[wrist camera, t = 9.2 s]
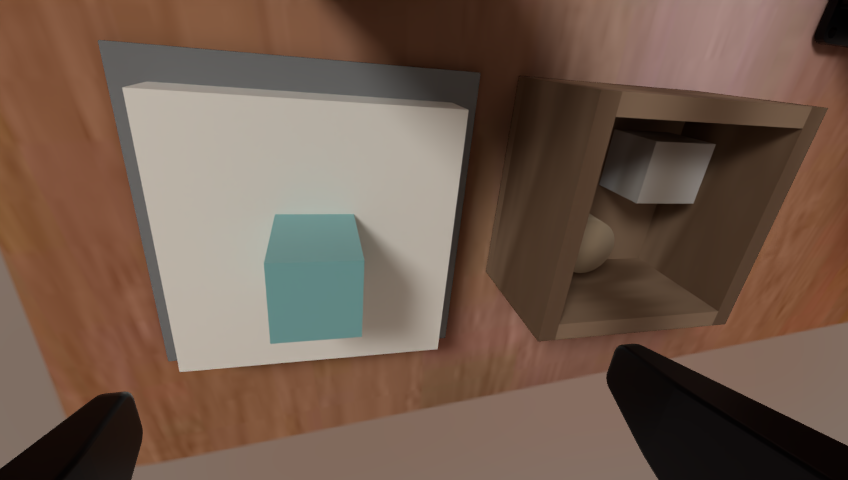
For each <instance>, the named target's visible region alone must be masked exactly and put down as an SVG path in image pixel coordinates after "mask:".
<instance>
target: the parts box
mask: <svg viewBox="0 0 848 480" xmlns="http://www.w3.org/2000/svg"><path fill="white" fill-rule="evenodd" d="M827 109H828V108H824V107H816V106H808V105H800V104H793V103H785V102H777V101H770V100H762V99H754V98H746V97H739V96H731V95H723V94H716V93H708V92H700V91H689V90H678V89H666V88H654V87H643V86H631V85H619V84H607V83H596V82H584V81H572V80H561V79H549V78H537V77H526V76H519V80H518V86H517V92H516V97H515V103H514V109H513V115H512V121H511V127H510V133H509V138H508V144H507V150H506V156H505V162H504V168H503V174H502V180H501V185H500V191H499V197H498V203H497V209H496V215H495V221H494V226H493V232H492V238H491V244H490V250H489V256H488V262H487V267H486V272H487V274H488V275H489V276H490V278H491V279H492V280H493V282H494V283H495V284H496V286H497V287H498V288H499V290H500V291H501V292H502V294H503V295H504V296H505V298H506V299H507V300H508V302H509V303H510V304H511V306H512V307H513V308H514V310H515V311H516V312H517V314H518V315H519V317H520V318H521V319H522V321H523V322H524V323H525V325H526V326H527V327H528V329H529V330H530V331H531V333H532V334H533V335H534V337H535V338H536V339H537V341H548V340H559V339H570V338H580V337H591V336H602V335H613V334H624V333H635V332H645V331H656V330H667V329H678V328H689V327H700V326H710V325H721V324H725V323H726V321H727V319H728V317H729V315H730V313H731V311H732V309H733V306H734V304H735V302H736V300H737V298H738V296H739V294H740V292H741V290H742V288H743V285H744V283H745V281H746V279H747V277H748V275H749V273H750V271H751V269H752V267H753V264H754V262H755V260H756V258H757V256H758V254H759V252H760V250H761V248H762V246H763V244H764V241H765V239H766V237H767V235H768V233H769V231H770V229H771V227H772V225H773V223H774V220H775V218H776V216H777V214H778V212H779V210H780V208H781V206H782V204H783V202H784V199H785V197H786V195H787V193H788V191H789V189H790V187H791V185H792V183H793V181H794V179H795V176H796V174H797V172H798V170H799V168H800V166H801V164H802V162H803V160H804V158H805V155H806V153H807V151H808V149H809V147H810V145H811V143H812V141H813V139H814V137H815V134H816V132H817V130H818V128H819V126H820V124H821V122H822V120H823V118H824V116H825V113H826V111H827Z"/></svg>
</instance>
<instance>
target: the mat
mask: <svg viewBox="0 0 848 480" xmlns="http://www.w3.org/2000/svg"><path fill="white" fill-rule="evenodd" d="M98 44H99V48H100V53H101V57H102V62H103V66H104V71H105V76H106V80H107V85H108V89H109V94H110V98H111V103H112V107H113V112H114V116H115V121H116V126H117V130H118V135H119V139H120V144H121V148H122V153H123V157H124V162H125V166H126V171H127V175H128V180H129V185H130V189H131V194H132V198H133V203H134V207H135V212H136V216H137V221H138V225H139V230H140V235H141V239H142V244H143V248H144V253H145V257H146V262H147V266H148V271H149V275H150V280H151V285H152V289H153V294H154V298H155V303H156V307H157V312H158V316H159V321H160V325H161V330H162V335H163V339H164V344H165V348H166V353H167V357H168V361H176V360H177V356H176V351H175V346H174V341H173V336H172V331H171V326H170V321H169V316H168V311H167V306H166V301H165V297H164V292H163V287H162V282H161V277H160V272H159V267H158V262H157V257H156V252H155V247H154V242H153V237H152V232H151V227H150V223H149V218H148V213H147V208H146V203H145V198H144V193H143V188H142V183H141V178H140V173H139V168H138V163H137V158H136V153H135V149H134V144H133V139H132V134H131V129H130V124H129V119H128V114H127V109H126V104H125V99H124V94H123V89H122V87H126V86H130V85H134V84H138V83H143V82H147V81H148V82H162V83H177V84H191V85H206V86H220V87H235V88H249V89H264V90H278V91H293V92H307V93H321V94H336V95H350V96H365V97H379V98H394V99H408V100H423V101H437V102H452V103H454V104H456V105H459V106H461V107H463V108H465V109H468V110H469V112H468V119H467V127H466V135H465V142H464V150H463V158H462V165H461V173H460V181H459V188H458V196H457V204H456V211H455V219H454V227H453V234H452V242H451V250H450V257H449V265H448V273H447V280H446V288H445V296H444V303H443V311H442V319H441V326H440V334H439V338H445V335H446V328H447V320H448V313H449V305H450V298H451V290H452V283H453V275H454V268H455V260H456V253H457V245H458V238H459V230H460V223H461V215H462V208H463V201H464V193H465V186H466V178H467V171H468V163H469V156H470V148H471V141H472V133H473V126H474V118H475V111H476V103H477V96H478V88H479V81H480V73H478V72H467V71H456V70H444V69H432V68H421V67H409V66H397V65H386V64H374V63H362V62H350V61H339V60H327V59H315V58H304V57H292V56H280V55H269V54H257V53H245V52H234V51H222V50H210V49H199V48H187V47H175V46H164V45H152V44H140V43H128V42H117V41H105V40H98Z"/></svg>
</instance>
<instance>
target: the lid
mask: <svg viewBox="0 0 848 480" xmlns="http://www.w3.org/2000/svg"><path fill="white" fill-rule="evenodd" d="M122 89H123V94H124V99H125V104H126V109H127V114H128V119H129V124H130V129H131V134H132V139H133V144H134V149H135V153H136V158H137V163H138V168H139V173H140V178H141V183H142V188H143V193H144V198H145V203H146V208H147V213H148V218H149V223H150V227H151V232H152V237H153V242H154V247H155V252H156V257H157V262H158V267H159V272H160V277H161V282H162V287H163V292H164V297H165V301H166V306H167V311H168V316H169V321H170V326H171V331H172V336H173V341H174V346H175V351H176V356H177V361H178V366H179V371H180V372H185V371H197V370H208V369H219V368H231V367H242V366H253V365H265V364H276V363H287V362H299V361H310V360H321V359H333V358H344V357H355V356H367V355H378V354H389V353H401V352H412V351H423V350H435V349H438V342H439V334H440V326H441V319H442V311H443V303H444V296H445V288H446V280H447V273H448V265H449V257H450V250H451V242H452V234H453V227H454V219H455V211H456V204H457V196H458V188H459V181H460V173H461V165H462V158H463V150H464V142H465V135H466V127H467V119H468V112H469V110H468V109H465V108H463V107H461V106H459V105H456V104H454V103H452V102H437V101H423V100H408V99H394V98H379V97H365V96H350V95H336V94H321V93H307V92H293V91H278V90H264V89H249V88H235V87H220V86H206V85H191V84H177V83H162V82H148V81H147V82H143V83H138V84H134V85H130V86H126V87H122Z"/></svg>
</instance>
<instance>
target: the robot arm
mask: <svg viewBox="0 0 848 480" xmlns="http://www.w3.org/2000/svg"><path fill="white" fill-rule="evenodd" d="M815 40H816V42H817V43H819V44H826V45H834V46H841V47H848V0H830V1H829V4H828V6H827V8H826V11H825V13H824V15H823V18H822V20H821V22H820V25H819V27H818V29H817V32H816V35H815ZM606 379H607V384H608V387H609V389H610V391H611V393H612V395H613V397H614V399H615V401H616V402H617V405H618V407H619V409H620V411H621V412H622V415H623V417H624V418H625V420H626V422H627V424H628V426H629V428H630V430H631V432H632V434H633V436H634V438H635V440H636V442H637V444H638V446H639V448H640V450H641V452H642V453H643V455H644V457H645V459H646V460H647V462H648V464H649V465H650V467H651V469H652V470H653V472H654V474H655V475H656V477H657V478H658V480H848V446H847V445H845V444H843V443H841V442H839V441H837V440H835V439H832V438H830V437H829V436H827V435H824V434H822V433H820V432H818V431H816V430H814V429H812V428H810V427H808V426H806V425H804V424H802V423H800V422H798V421H795V420H794V419H791V418H790V417H788V416H785V415H783V414H781V413H779V412H777V411H775V410H773V409H771V408H769V407H767V406H765V405H763V404H761V403H759V402H757V401H755V400H753V399H750V398H748V397H746V396H744V395H742V394H740V393H738V392H736V391H734V390H732V389H730V388H728V387H726V386H724V385H722V384H720V383H717V382H715V381H713V380H711V379H709V378H707V377H705V376H703V375H701V374H699V373H697V372H695V371H693V370H691V369H689V368H687V367H685V366H683V365H681V364H679V363H677V362H674V361H672V360H670V359H668V358H666V357H664V356H662V355H660V354H658V353H656V352H654V351H652V350H650V349H648V348H646V347H644V346H642V345H639V344H625V345H620V346H618V347H617V348H616V350H615V352H614V355H613V357H612V360H611V363H610V366H609V369H608V372H607V377H606ZM142 435H143V430H142V425H141V421H140V418H139V414H138V411H137V408H136V404H135V401H134V398H133V396H132V395H131V393H129V392H116V393H106V394H101V395H98V396H97V397H95V398H93V399H92V400H91V401H89V402H88V403H87V404H85V405H84V406H83V407H81V408H80V409H79V410H77V411H76V412H75V413H74V414H72V415H71V416H70V417H68V418H67V419H66V420H64V421H63V422H62V423H60V424H59V425H58V426H56V427H55V428H54V429H52V430H51V431H50V432H49V433H47V434H46V435H44V436H43V437H42V438H41V439H39V440H38V441H36V442H35V443H34V444H33V445H31V446H30V447H29V448H27V449H26V450H25V451H23V452H22V453H21V454H19V455H18V456H17V457H15V458H14V459H13V460H11V461H10V462H9V463H7V464H6V465H5V466H3V467H2V468H1V469H0V480H131V479H132V475H133V471H134V468H135V464H136V461H137V457H138V453H139V450H140V446H141V442H142Z"/></svg>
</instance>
